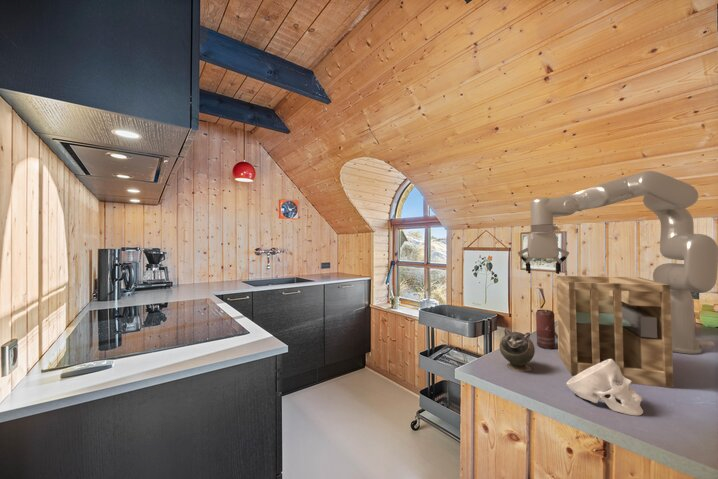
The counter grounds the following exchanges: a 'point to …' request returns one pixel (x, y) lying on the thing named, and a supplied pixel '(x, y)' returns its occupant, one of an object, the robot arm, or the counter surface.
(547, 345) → the can
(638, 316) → the green chalkboard
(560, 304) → the zigzag grain wooden box
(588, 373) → the skull bowl
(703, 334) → the counter surface
